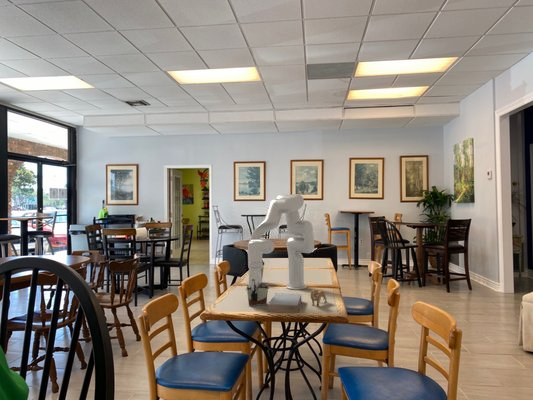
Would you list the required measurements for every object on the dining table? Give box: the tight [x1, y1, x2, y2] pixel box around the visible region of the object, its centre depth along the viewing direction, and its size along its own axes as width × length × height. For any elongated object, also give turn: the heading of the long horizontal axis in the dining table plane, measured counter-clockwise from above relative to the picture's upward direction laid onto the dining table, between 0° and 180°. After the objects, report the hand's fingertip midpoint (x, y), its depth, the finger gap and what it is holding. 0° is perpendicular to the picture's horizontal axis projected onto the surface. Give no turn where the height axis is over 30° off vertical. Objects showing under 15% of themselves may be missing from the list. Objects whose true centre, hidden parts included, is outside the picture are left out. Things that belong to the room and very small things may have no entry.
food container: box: [245, 282, 270, 307], centre depth 182 cm, size 12×6×10 cm, turn 106°
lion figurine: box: [309, 288, 328, 307], centre depth 179 cm, size 15×5×9 cm, turn 150°
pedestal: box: [268, 292, 302, 314], centre depth 177 cm, size 20×14×4 cm
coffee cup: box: [248, 259, 265, 283], centre depth 232 cm, size 11×11×15 cm
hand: (256, 298), depth 181 cm, fingers closed on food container, 6 cm apart
